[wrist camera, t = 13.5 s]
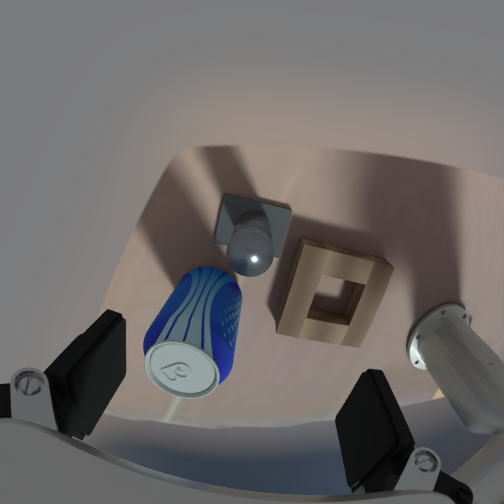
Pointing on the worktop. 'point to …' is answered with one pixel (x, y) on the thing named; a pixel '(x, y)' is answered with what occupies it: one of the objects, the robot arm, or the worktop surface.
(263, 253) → the rod
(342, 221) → the worktop surface
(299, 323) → the pocket block
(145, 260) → the worktop surface
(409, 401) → the worktop surface
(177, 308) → the beer can
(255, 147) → the worktop surface
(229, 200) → the mat
